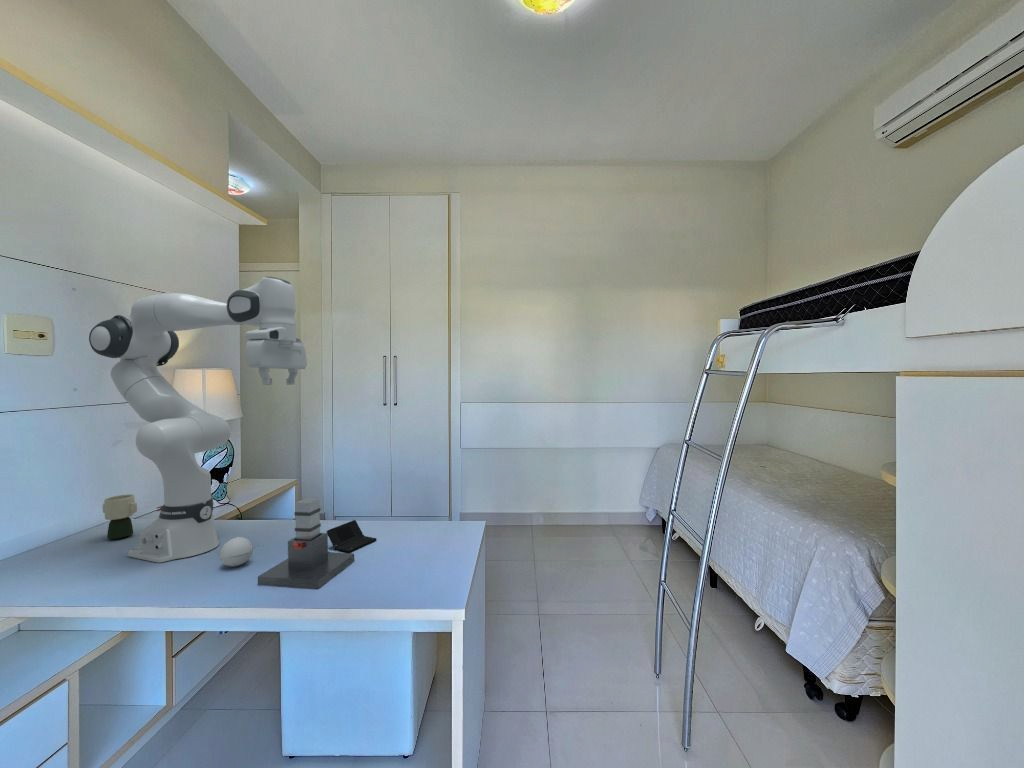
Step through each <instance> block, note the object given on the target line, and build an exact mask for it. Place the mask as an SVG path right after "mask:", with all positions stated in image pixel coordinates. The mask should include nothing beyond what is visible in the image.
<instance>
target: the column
mask: <svg viewBox="0 0 1024 768" xmlns="http://www.w3.org/2000/svg"><path fill="white" fill-rule="evenodd" d="M294 504H295V505H294V509H295V511H294V514H293V515H294V517H295V527H294V532H295V537H296V540H300V541H312V540H314V539H315V538H317V537H319V536H320V533H321V526H322V525H321V524H322V523H320V522H321V513H320V512H321V507H320V498H302V499H300V500H298V501H296V502H295V503H294Z"/></svg>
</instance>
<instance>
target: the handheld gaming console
mask: <svg viewBox="0 0 1024 768" xmlns="http://www.w3.org/2000/svg"><path fill="white" fill-rule="evenodd" d="M326 533H328V540H329V541H330V543H331V545H332V546H333V552H334V551H336V552H338V553H354V552H356V551H358V550H360V549H363V548H365V547H366V546H368V545H371V544H373V543H375V542H377V538H376V537H371V536H366V535H365V534H364V533H363V532H362V530H361V528H360V526H359V524H358V522H357V520H356V519H353V520H351V521H348V522H346V523H343V524H340V525H337V526H335V527H333V528H330V529H328V530H326Z"/></svg>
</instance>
